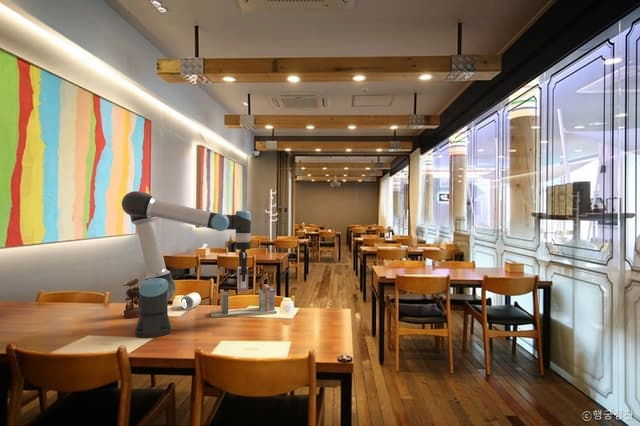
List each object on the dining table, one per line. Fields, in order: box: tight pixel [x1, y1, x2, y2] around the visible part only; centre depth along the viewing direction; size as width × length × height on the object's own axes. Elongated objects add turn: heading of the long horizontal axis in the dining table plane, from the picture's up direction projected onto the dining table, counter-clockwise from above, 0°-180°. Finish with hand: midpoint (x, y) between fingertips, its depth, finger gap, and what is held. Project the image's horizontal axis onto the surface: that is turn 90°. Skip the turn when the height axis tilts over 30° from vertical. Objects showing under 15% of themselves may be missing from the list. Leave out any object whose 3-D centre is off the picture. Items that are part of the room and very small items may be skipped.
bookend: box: [221, 291, 229, 314], centre depth 201 cm, size 9×3×10 cm, turn 16°
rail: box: [210, 284, 278, 319], centre depth 204 cm, size 11×34×14 cm, turn 106°
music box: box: [122, 277, 140, 320], centre depth 198 cm, size 15×11×20 cm
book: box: [236, 265, 249, 292], centre depth 189 cm, size 9×5×11 cm, turn 16°
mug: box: [180, 291, 202, 311], centre depth 215 cm, size 12×10×8 cm
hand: (242, 286), depth 189 cm, fingers closed on book, 9 cm apart
